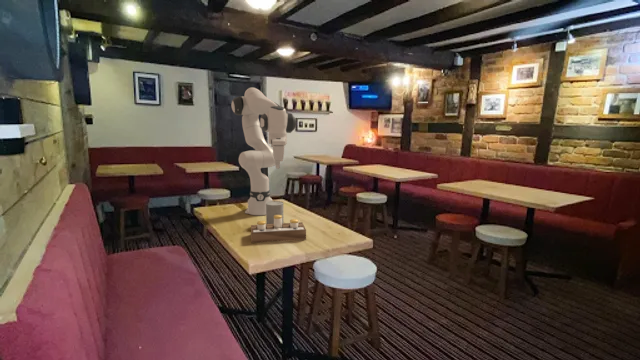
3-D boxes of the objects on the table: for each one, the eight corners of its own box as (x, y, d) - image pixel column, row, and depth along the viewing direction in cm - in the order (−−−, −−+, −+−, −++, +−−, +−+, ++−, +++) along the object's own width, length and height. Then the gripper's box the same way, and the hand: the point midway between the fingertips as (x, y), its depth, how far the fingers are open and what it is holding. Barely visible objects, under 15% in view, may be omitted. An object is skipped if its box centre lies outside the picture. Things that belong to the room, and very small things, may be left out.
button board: (251, 234, 169) (251, 224, 168) (302, 231, 174) (302, 222, 173) (251, 243, 157) (251, 232, 156) (306, 239, 162) (306, 229, 161)
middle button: (273, 230, 166) (273, 215, 165) (281, 229, 167) (281, 214, 166) (274, 232, 163) (274, 217, 161) (282, 232, 163) (282, 216, 162)
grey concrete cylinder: (280, 228, 179) (280, 205, 177) (263, 226, 181) (263, 204, 179) (285, 222, 188) (285, 201, 186) (269, 221, 190) (269, 200, 188)
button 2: (289, 234, 169) (289, 219, 167) (297, 233, 169) (297, 218, 168) (290, 236, 165) (290, 221, 163) (298, 236, 165) (298, 221, 164)
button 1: (257, 236, 165) (257, 220, 164) (265, 235, 166) (265, 220, 165) (257, 238, 161) (257, 223, 160) (266, 238, 162) (265, 223, 161)
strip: (253, 230, 159) (253, 229, 159) (303, 227, 164) (303, 226, 164) (253, 232, 157) (253, 231, 156) (303, 229, 161) (304, 228, 161)
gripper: (270, 138, 172) (270, 164, 175) (272, 141, 153) (272, 171, 155) (282, 138, 174) (282, 164, 176) (286, 142, 154) (285, 171, 157)
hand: (277, 168), depth 166 cm, fingers closed
